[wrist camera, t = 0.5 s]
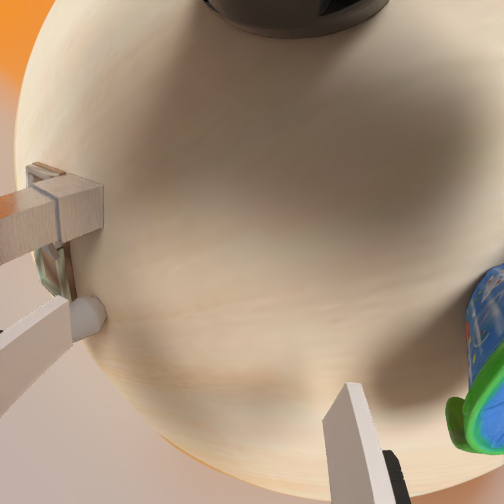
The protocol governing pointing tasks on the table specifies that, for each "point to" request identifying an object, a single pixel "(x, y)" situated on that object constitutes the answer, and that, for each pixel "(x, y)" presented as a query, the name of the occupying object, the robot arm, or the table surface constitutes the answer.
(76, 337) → the salt shaker
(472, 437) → the snack cup
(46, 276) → the grey brown flat rectangle
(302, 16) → the robot arm
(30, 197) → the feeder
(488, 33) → the table surface
